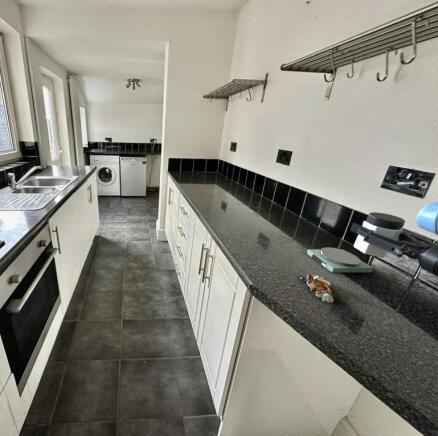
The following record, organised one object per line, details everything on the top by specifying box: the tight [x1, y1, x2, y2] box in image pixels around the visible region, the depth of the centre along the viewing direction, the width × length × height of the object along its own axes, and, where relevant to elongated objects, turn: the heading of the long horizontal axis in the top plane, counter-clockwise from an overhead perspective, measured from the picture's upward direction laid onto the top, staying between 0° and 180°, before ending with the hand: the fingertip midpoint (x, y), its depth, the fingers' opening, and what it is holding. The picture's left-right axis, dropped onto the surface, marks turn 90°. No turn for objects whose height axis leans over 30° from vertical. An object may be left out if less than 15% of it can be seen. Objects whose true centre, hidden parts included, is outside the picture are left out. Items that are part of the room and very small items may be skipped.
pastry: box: [300, 273, 335, 304], centre depth 72 cm, size 7×12×4 cm, turn 174°
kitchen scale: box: [306, 248, 374, 273], centre depth 88 cm, size 15×13×2 cm
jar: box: [353, 211, 406, 259], centre depth 73 cm, size 9×8×12 cm
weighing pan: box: [319, 246, 361, 266], centre depth 87 cm, size 12×12×1 cm
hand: (365, 226), depth 77 cm, fingers closed on jar, 8 cm apart
